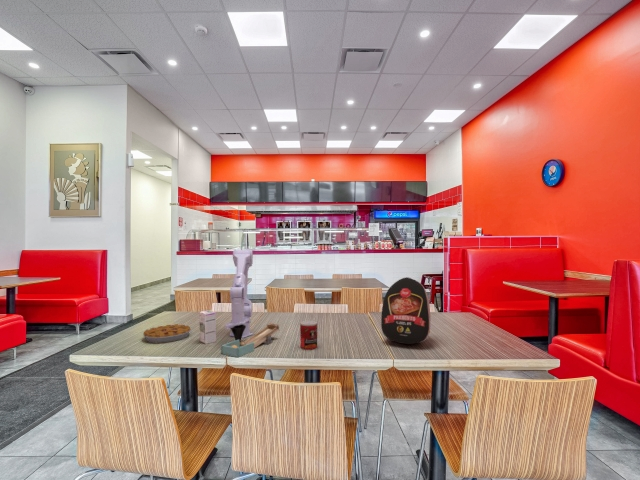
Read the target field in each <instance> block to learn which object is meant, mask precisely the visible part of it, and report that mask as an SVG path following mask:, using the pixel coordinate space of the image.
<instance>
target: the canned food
mask: <svg viewBox="0 0 640 480" xmlns="http://www.w3.org/2000/svg"><path fill="white" fill-rule="evenodd" d="M299 324H300V326H299V328H300V332H299V333H300V334H299V335H300V337H299V341H300V348H301V349H303V350H307V351H308V350H315V349H316V348H318V347H317V346H318V322H317V321H315V320H303V321H300V323H299Z"/></svg>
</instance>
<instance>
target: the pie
mask: <svg viewBox="0 0 640 480" xmlns="http://www.w3.org/2000/svg"><path fill="white" fill-rule="evenodd" d="M191 331H192V329H191V326H189V325H185V324H178V323H177V324H176V323H175V324H166V325H158V326H157V327H150V329H146V330H144V331H143V334H142V335H143V337H145V338H144V339H146V341H147V342H148V341H149V343H151V342H152V343H153V344H164V343H171V342H176V341H180V340H184V339H186V338H188V336H189V334H190V332H191Z"/></svg>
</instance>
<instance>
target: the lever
mask: <svg viewBox="0 0 640 480" xmlns="http://www.w3.org/2000/svg"><path fill="white" fill-rule="evenodd" d="M278 331H280V326H279V324H277V323H271V322H270V323H266V326H265V327H264V328H261V330H259V331H258V332H256V333H255V335H254V334H253V335H251V336H250V337H249V338H248V339H246V340H244V341H243V340H241V341H240V346H244V345H247V344H250V343H252V342H254V349H255V348H256V347H258V346H260V345H262V344H261V343H262V342H264V341H265V340H266V337H267V336H271V337H272V336H273V335H274V334H276V333H277V332H278ZM233 341H235V339H234V340H233Z"/></svg>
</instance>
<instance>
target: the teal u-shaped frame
mask: <svg viewBox="0 0 640 480" xmlns="http://www.w3.org/2000/svg"><path fill="white" fill-rule="evenodd" d="M234 340H235V339H234ZM234 340H232V341H230V342H227V343H225V344H222V345H221V347H220V348H221V349H220V350H221V351H220V354H221V355H226V356H229V357H230V356H231V357H234V358H239V357H242V356H245V355H247V354H249V353H252V352H254V351H255V348H254V342H252V343H250V344H247V345H244V346H243V345H240V340H235V341H234ZM233 345H236V346H237V347H238V348H235V347H231V346H233ZM244 354H245V355H244Z"/></svg>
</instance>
